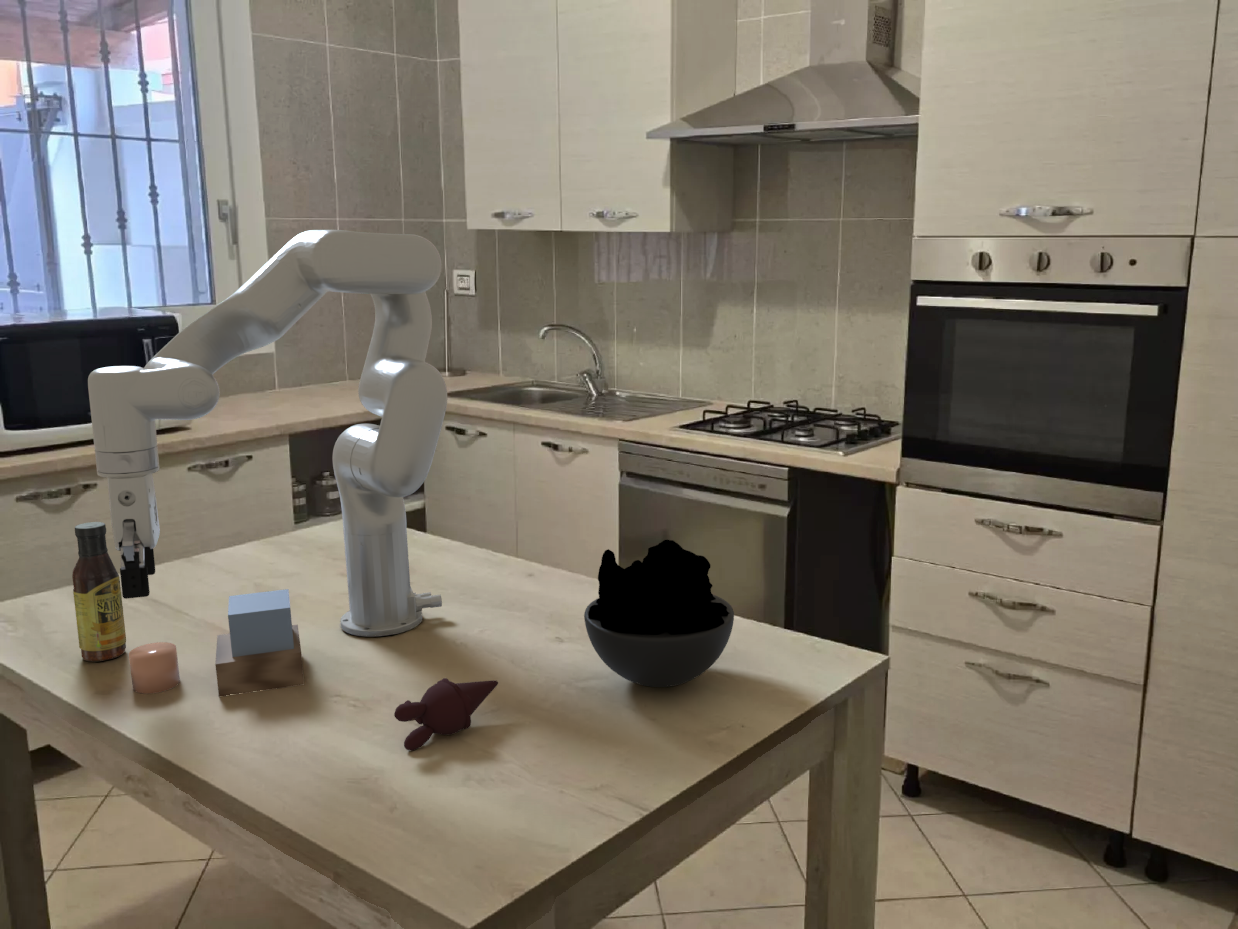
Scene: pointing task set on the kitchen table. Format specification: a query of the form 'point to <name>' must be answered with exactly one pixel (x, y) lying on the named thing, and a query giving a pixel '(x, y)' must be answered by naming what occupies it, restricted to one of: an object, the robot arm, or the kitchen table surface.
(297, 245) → the robot arm
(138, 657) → the terracotta cylinder
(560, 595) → the kitchen table surface
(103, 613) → the sauce bottle
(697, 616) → the coal bowl
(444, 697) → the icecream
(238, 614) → the tower middle
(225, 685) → the tower base
